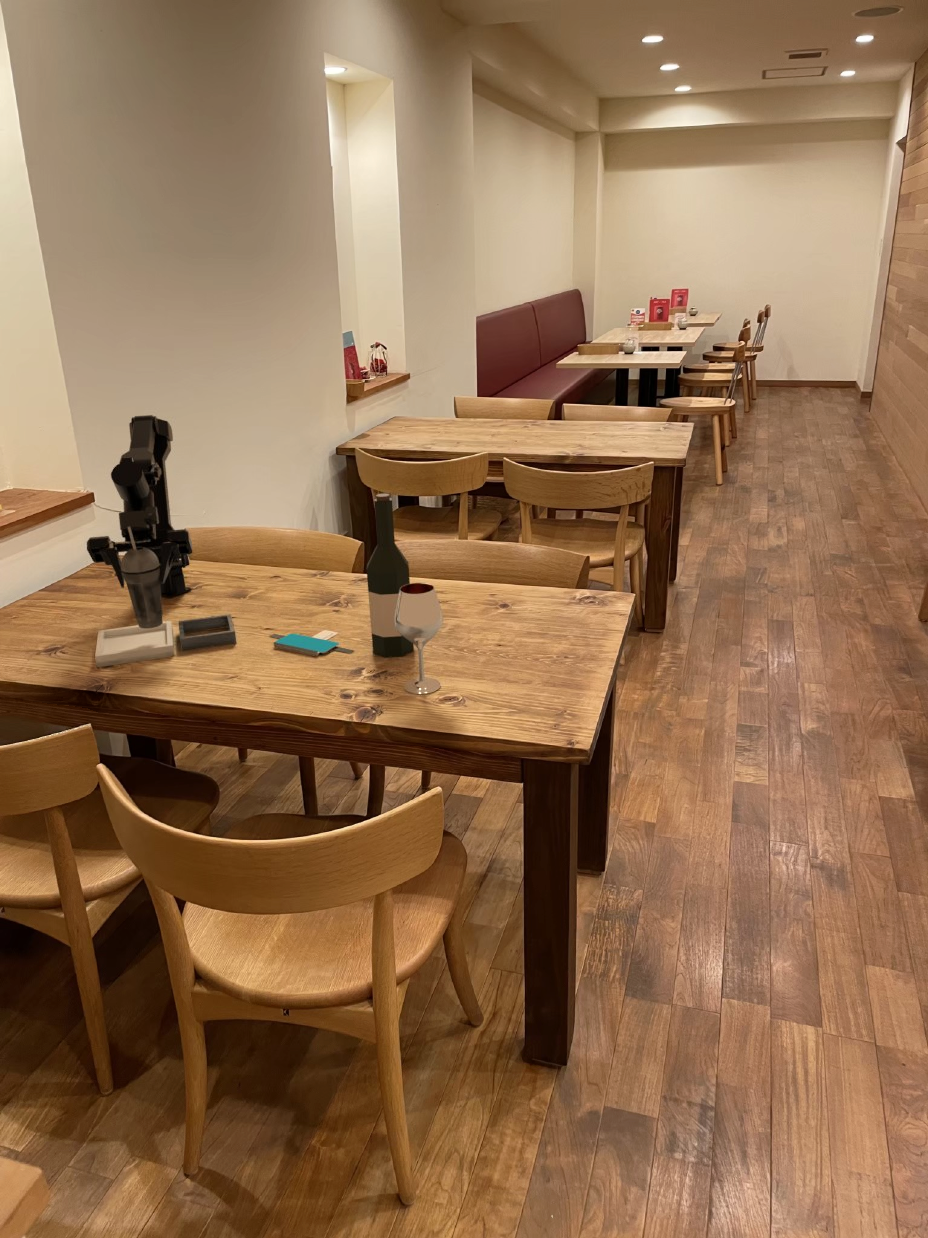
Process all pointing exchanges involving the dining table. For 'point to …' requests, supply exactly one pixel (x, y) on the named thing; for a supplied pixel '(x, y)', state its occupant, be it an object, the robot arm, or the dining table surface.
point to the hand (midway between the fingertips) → (142, 585)
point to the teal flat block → (309, 643)
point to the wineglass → (419, 627)
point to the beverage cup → (143, 584)
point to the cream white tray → (134, 644)
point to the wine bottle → (386, 584)
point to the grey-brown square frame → (206, 639)
